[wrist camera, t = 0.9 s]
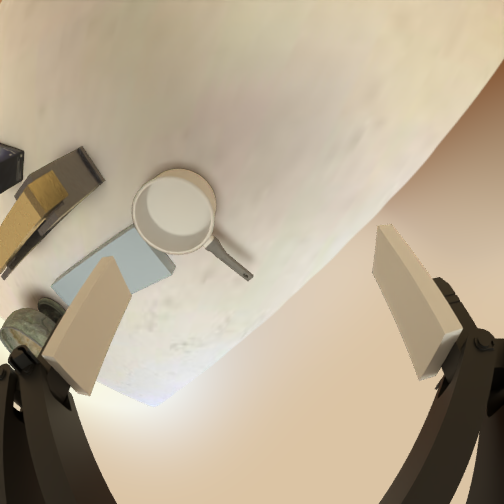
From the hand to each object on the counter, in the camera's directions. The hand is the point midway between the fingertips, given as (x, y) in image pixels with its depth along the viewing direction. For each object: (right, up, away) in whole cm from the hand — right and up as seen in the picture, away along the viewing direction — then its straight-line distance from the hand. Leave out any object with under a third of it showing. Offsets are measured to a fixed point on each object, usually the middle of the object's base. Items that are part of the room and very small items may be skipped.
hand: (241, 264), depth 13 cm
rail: (-35, +4, +18) cm, 39 cm away
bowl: (-48, -15, +43) cm, 66 cm away
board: (-27, -4, +35) cm, 44 cm away
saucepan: (-7, +6, +29) cm, 30 cm away
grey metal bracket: (-34, +9, +26) cm, 44 cm away
